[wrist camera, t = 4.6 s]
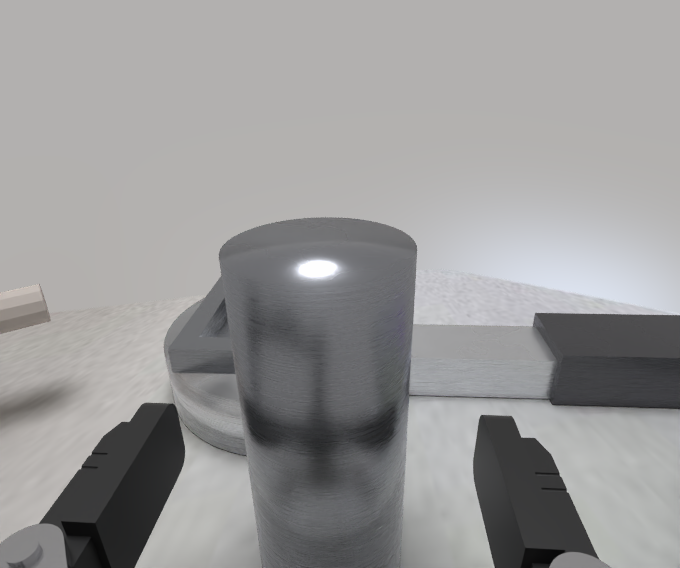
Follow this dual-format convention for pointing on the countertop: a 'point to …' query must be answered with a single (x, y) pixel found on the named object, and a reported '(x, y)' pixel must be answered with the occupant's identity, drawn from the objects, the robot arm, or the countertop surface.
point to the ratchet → (453, 364)
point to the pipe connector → (22, 308)
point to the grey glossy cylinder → (323, 385)
